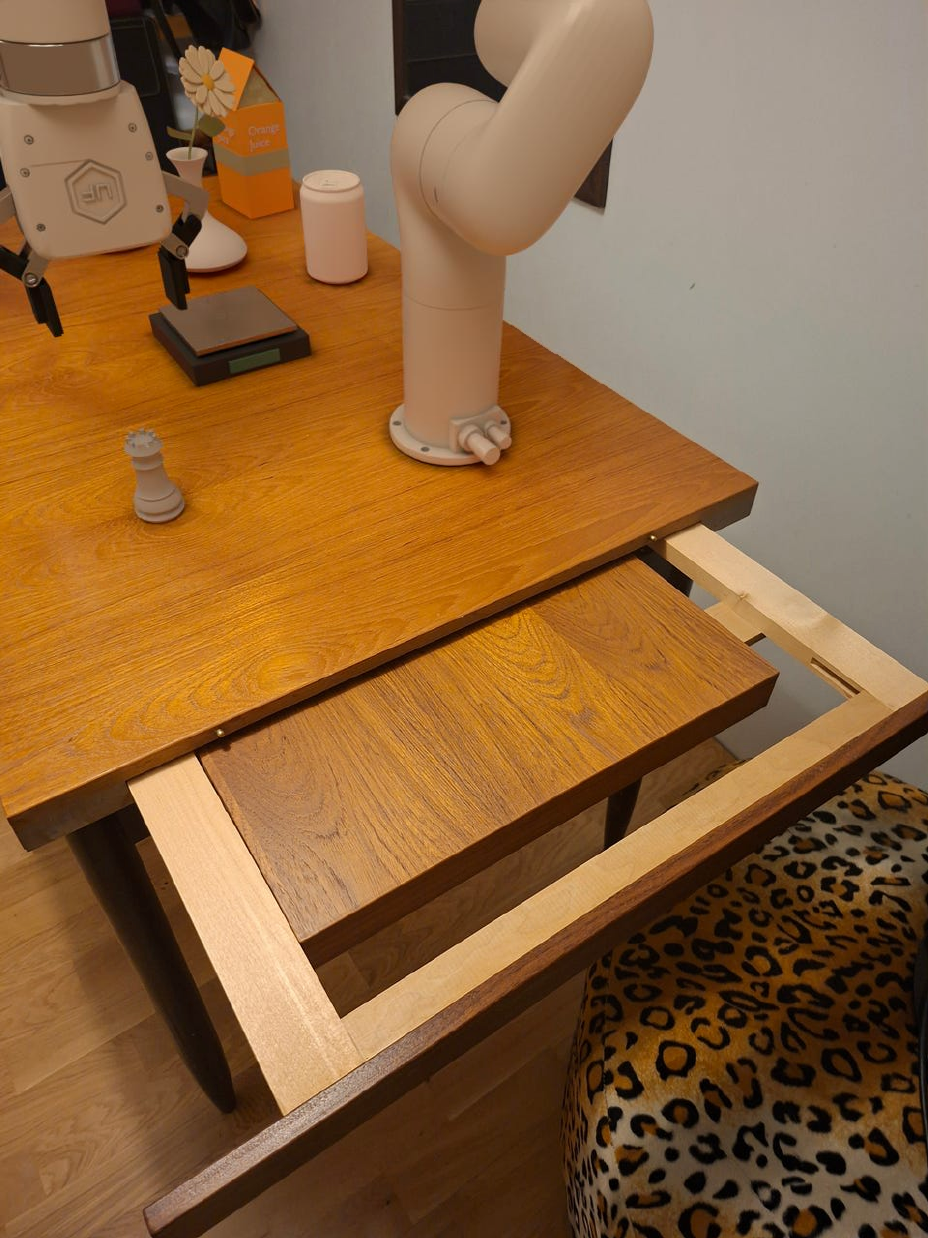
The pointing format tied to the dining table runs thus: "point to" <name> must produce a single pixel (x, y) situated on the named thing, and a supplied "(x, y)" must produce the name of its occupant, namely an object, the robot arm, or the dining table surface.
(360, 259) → the beverage can
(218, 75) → the flower in vase
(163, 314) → the platter
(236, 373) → the scale
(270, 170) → the orange juice
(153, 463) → the rook chess piece
